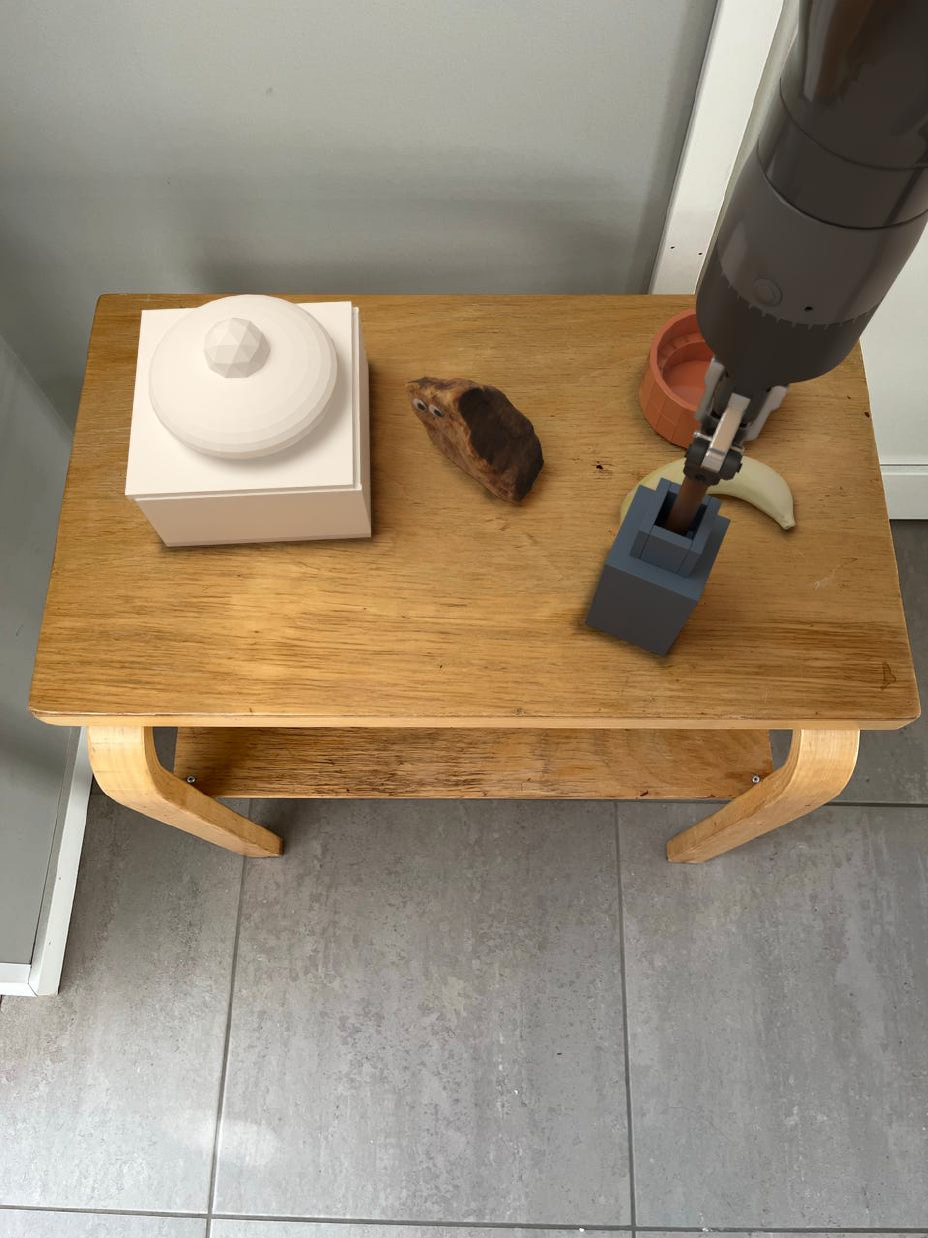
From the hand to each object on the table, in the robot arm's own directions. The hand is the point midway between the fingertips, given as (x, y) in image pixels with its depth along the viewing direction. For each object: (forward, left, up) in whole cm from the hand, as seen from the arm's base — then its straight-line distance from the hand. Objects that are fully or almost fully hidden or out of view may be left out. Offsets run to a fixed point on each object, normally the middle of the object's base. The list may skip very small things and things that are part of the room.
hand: (706, 460), depth 55 cm
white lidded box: (+35, 0, -23) cm, 42 cm away
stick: (0, 0, -9) cm, 9 cm away
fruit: (-2, -10, -23) cm, 25 cm away
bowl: (+2, -21, -23) cm, 31 cm away
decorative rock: (+18, -7, -23) cm, 30 cm away
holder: (0, 0, -23) cm, 23 cm away
